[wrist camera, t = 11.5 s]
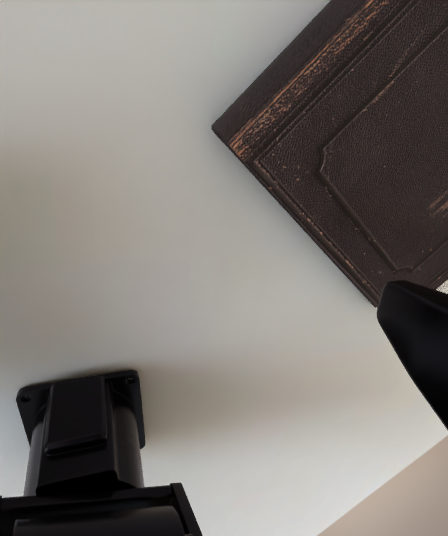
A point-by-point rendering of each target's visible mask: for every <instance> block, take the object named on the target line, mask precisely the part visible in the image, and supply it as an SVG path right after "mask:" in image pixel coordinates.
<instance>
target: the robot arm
mask: <svg viewBox="0 0 448 536" xmlns="http://www.w3.org/2000/svg"><path fill="white" fill-rule="evenodd" d="M377 319H378V322H379V324H380V326H381V327H382V329H383V331H384V333H385V334H386V336H387V338H388V340H389V341H390V343H391V345H392V347H393V348H394V350H395V352H396V354H397V355H398V357H399V359H400V360H401V362H402V364H403V366H404V367H405V369H406V371H407V372H408V374H409V376H410V377H411V379H412V380H413V382H414V383H415V385H416V386H417V388H418V389H419V390H420V392H421V393H422V395H423V396H424V397H425V399H426V400H427V402H428V403H429V404H430V406H431V407H432V409H433V410H434V412H435V413H436V414H437V416H438V417H439V419H440V420H441V421H442V423H443V424H444V426H445V427H446V428H447V430H448V294H446V293H443V292H440V291H437V290H434V289H431V288H428V287H425V286H422V285H418V284H415V283H412V282H409V281H406V280H397V281H389V282H387V283H386V284H385V285H384V287H383V290H382V294H381V298H380V301H379V305H378V309H377ZM129 378H133V379H131V380H128V379H129ZM24 396H30V397H24ZM16 402H17V405H18V408H19V412H20V415H21V418H22V422H23V425H24V428H25V432H26V435H27V438H28V441H29V445H30V454H29V461H28V468H27V475H26V481H25V488H24V495H23V496H21V497H8V498H2V496H0V536H202V533H201V531H200V528H199V526H198V523H197V521H196V518H195V516H194V513H193V511H192V508H191V506H190V503H189V501H188V498H187V496H186V493H185V491H184V488H183V486H182V483H170V485H168V486H155V487H144V480H143V471H142V463H141V454H140V449H142V448H143V447H144V446H145V434H144V424H143V413H142V402H141V391H140V380H139V374H138V372H137V371H135V370H126V371H120V372H114V373H108V374H102V375H96V376H90V377H84V378H77V379H71V380H65V381H59V382H53V383H47V384H41V385H35V386H29V387H24V388H21V389H20V390H19V391H18V393H17V397H16Z"/></svg>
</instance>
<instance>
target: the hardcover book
mask: <svg viewBox="0 0 448 536" xmlns="http://www.w3.org/2000/svg"><path fill="white" fill-rule="evenodd" d="M212 130H213V131H214V133H215V134H216V135H217V136H218V137H219V138H220V139H221V141H222V142H223V143H224V144H225V145H226V146H227V147H228V148H229V149H230V150H231V151H232V153H233V154H234V155H235V156H236V157H237V158H238V159H239V160H240V161H241V162H242V163H243V164H244V166H245V167H246V168H247V169H248V170H249V171H250V172H251V173H252V174H253V175H254V176H255V178H256V179H257V180H258V181H259V182H260V183H261V184H262V185H263V186H264V187H265V188H266V190H267V191H268V192H269V193H270V194H271V195H272V196H273V197H274V198H275V199H276V200H277V201H278V203H279V204H280V205H281V206H282V207H283V208H284V209H285V210H286V211H287V212H288V213H289V215H290V216H291V217H292V218H293V219H294V220H295V221H296V222H297V223H298V224H299V225H300V227H301V228H302V229H303V230H304V231H305V232H306V233H307V234H308V235H309V236H310V237H311V238H312V240H313V241H314V242H315V243H316V244H317V245H318V246H319V247H320V248H321V249H322V250H323V252H324V253H325V254H326V255H327V256H328V257H329V258H330V259H331V260H332V261H333V262H334V264H335V265H336V266H337V267H338V268H339V269H340V270H341V271H342V272H343V273H344V274H345V275H346V277H347V278H348V279H349V280H350V281H351V282H352V283H353V284H354V285H355V286H356V287H357V289H358V290H359V291H360V292H361V293H362V294H363V295H364V296H365V297H366V298H367V299H368V301H369V302H370V303H371V304H372V305H373V306H374V307H377V308H378V305H379V301H380V298H381V294H382V290H383V287H384V285H385V284H386V283H387V282H389V281H397V280H406V281H409V282H412V283H415V284H418V285H422V286H425V287H428V288H431V289H434V290H436V289H437V288H438V287H439V286H441V285H442V284H443V283H444V282H445V281H446V280H448V0H331V1H330V2H329V3H328V4H327V5H326V6H325V7H324V8H323V10H322V11H321V12H320V13H319V14H318V15H317V16H316V17H315V18H314V19H313V20H312V21H311V22H310V23H309V24H308V25H307V26H306V27H305V28H304V30H303V31H302V32H301V33H300V34H299V35H298V36H297V37H296V38H295V39H294V40H293V41H292V42H291V43H290V44H289V45H288V46H287V47H286V48H285V49H284V51H283V52H282V53H281V54H280V55H279V56H278V57H277V58H276V59H275V60H274V61H273V62H272V63H271V64H270V65H269V66H268V67H267V68H266V69H265V71H264V72H263V73H262V74H261V75H260V76H259V77H258V78H257V79H256V80H255V81H254V82H253V83H252V84H251V85H250V86H249V87H248V88H247V89H246V91H245V92H244V93H243V94H242V95H241V96H240V97H239V98H238V99H237V100H236V101H235V102H234V103H233V104H232V105H231V106H230V107H229V108H228V109H227V110H226V112H225V113H224V114H223V115H222V116H221V117H220V118H219V119H218V120H217V121H216V122H215V123H214V124H213V125H212Z"/></svg>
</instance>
